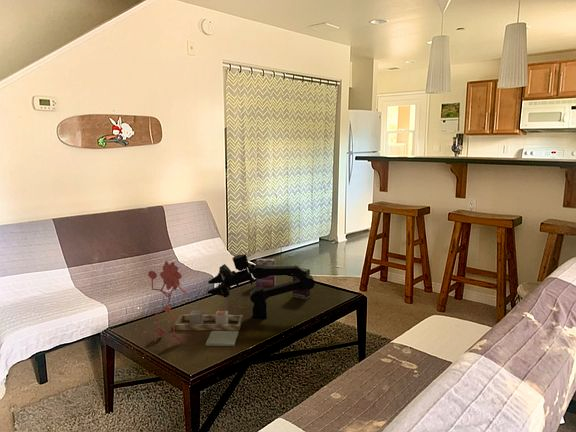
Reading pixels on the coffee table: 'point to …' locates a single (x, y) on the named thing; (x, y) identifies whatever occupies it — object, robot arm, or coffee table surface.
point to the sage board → (222, 338)
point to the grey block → (196, 317)
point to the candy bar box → (269, 280)
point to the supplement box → (301, 293)
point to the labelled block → (221, 317)
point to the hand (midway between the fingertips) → (207, 287)
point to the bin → (209, 326)
